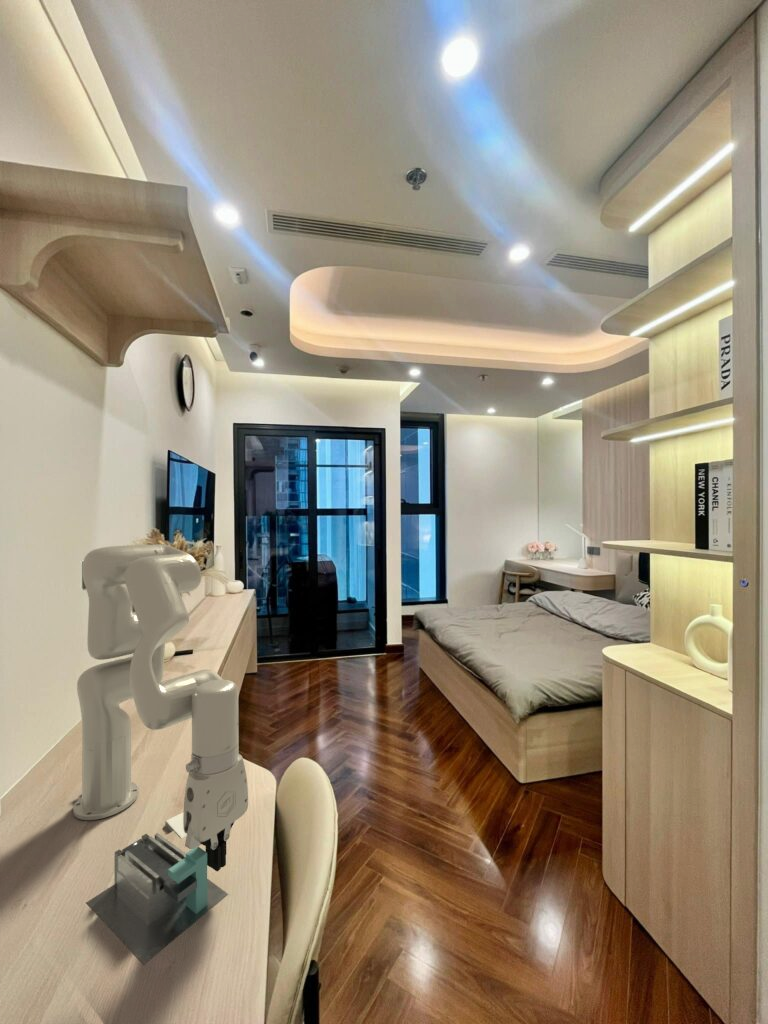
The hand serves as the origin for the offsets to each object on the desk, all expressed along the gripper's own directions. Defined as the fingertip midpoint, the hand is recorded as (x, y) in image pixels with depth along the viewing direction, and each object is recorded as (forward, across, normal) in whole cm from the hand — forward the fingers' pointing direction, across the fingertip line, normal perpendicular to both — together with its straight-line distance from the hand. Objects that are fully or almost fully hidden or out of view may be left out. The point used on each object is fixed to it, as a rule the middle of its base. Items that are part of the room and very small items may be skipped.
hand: (216, 865), depth 75 cm
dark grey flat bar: (0, -6, +7) cm, 9 cm away
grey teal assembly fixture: (+5, -6, +7) cm, 11 cm away
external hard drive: (+6, +11, +19) cm, 23 cm away
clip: (+4, -5, 0) cm, 7 cm away
